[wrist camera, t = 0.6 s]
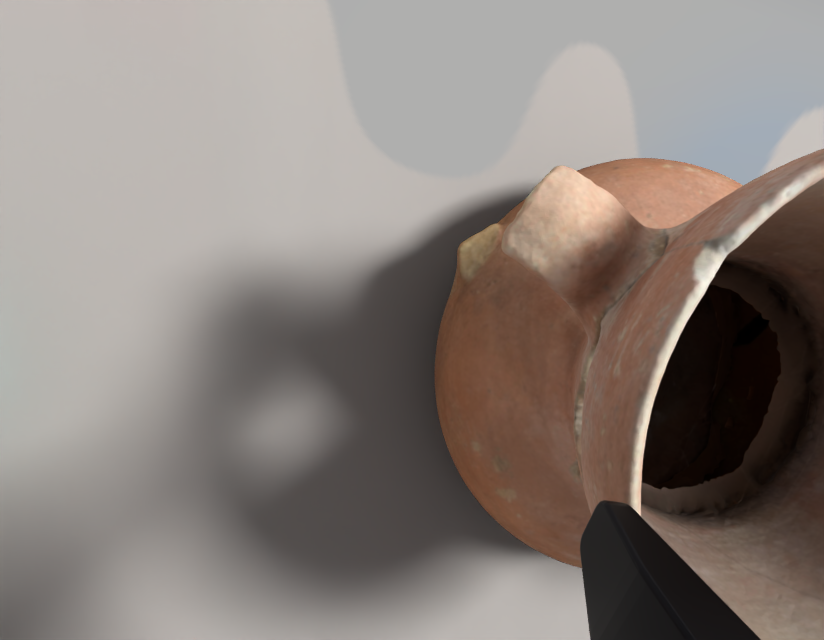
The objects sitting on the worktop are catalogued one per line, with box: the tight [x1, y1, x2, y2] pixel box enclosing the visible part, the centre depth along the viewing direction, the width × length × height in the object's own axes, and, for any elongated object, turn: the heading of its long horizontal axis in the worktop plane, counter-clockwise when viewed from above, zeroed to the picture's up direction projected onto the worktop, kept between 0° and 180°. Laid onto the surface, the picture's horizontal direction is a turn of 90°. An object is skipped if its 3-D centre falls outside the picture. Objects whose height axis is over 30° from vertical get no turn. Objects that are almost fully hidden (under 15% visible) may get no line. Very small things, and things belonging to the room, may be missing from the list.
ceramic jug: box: [435, 149, 824, 640], centre depth 18 cm, size 18×14×14 cm
